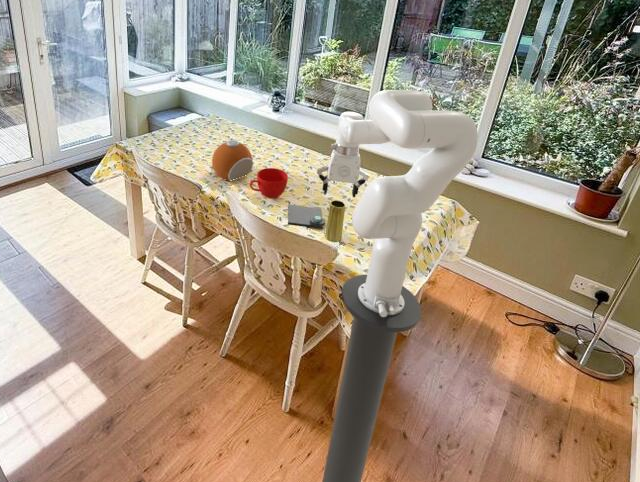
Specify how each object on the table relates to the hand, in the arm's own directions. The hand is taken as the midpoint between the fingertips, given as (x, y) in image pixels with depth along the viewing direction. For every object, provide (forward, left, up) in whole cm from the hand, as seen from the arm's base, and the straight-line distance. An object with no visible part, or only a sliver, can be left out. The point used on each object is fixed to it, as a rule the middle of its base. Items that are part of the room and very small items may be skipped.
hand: (339, 193), depth 143 cm
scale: (+12, +10, -18) cm, 23 cm away
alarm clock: (+42, +44, -18) cm, 63 cm away
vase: (0, 0, -18) cm, 18 cm away
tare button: (+7, +5, -16) cm, 18 cm away
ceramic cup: (+26, +26, -18) cm, 41 cm away
